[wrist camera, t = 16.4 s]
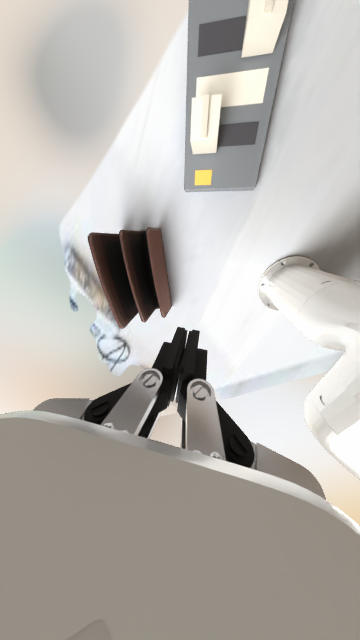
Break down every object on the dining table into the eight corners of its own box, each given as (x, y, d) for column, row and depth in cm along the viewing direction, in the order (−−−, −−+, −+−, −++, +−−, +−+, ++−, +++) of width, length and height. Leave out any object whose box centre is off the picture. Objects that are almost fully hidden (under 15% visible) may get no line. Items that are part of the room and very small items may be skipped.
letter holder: (141, 307, 45) (116, 332, 33) (122, 234, 36) (78, 232, 24) (172, 306, 43) (157, 333, 31) (161, 228, 34) (133, 223, 22)
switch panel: (302, -57, 17) (313, -92, 15) (252, 190, 28) (255, 186, 26) (192, -30, 19) (190, -58, 17) (185, 191, 30) (184, 188, 28)
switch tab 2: (283, -7, 17) (305, -79, 13) (272, 52, 19) (288, 5, 15) (248, 0, 18) (259, -67, 14) (241, 57, 20) (249, 12, 16)
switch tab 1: (220, 116, 23) (222, 90, 19) (216, 152, 25) (217, 136, 21) (194, 118, 23) (191, 94, 19) (192, 154, 25) (189, 138, 21)
